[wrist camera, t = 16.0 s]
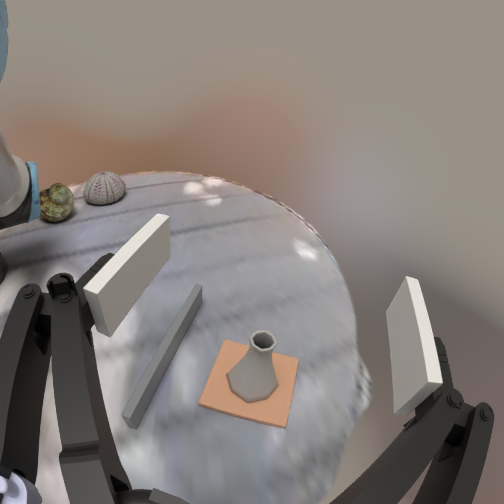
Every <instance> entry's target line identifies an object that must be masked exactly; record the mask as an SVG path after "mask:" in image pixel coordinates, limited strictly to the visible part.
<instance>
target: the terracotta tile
mask: <svg viewBox="0 0 504 504" xmlns="http://www.w3.org/2000/svg"><path fill="white" fill-rule="evenodd" d="M249 348H250V346H247V345H243V344H239V343H236V342H232V341H229V340H225V339H224V341H223V344H222V346H221V349H220V351H219V354H218V356H217V359H216V361H215V364H214V366H213V368H212V371H211V373H210V376H209V378H208V381H207V383H206V386H205V388H204V391H203V393H202V395H201V398H200V400H199V403H198V404H199V406H202V407H206V408H209V409H212V410H215V411H218V412H222V413H225V414H228V415H232V416H236V417H239V418H243V419H247V420H250V421H254V422H258V423H263V424H267V425H271V426H276V427H280V428H285V427H286V423H287V418H288V413H289V408H290V403H291V398H292V393H293V388H294V382H295V377H296V371H297V366H298V360H299V359H298V358H294V357H290V356H285V355H281V354H277V353H273V352H272V363H273V367H274V371H275V374H276V377H277V380H278V384H279V386H278V387H277V388H276V389H275V390H274V392H273V393H272V394H271V395H270V397H269V398H268V399H264V400H259V401H255V402H250V403H247V402H246V401H244V400H243V399H241V398H240V397H238V396H237V395H236V394H234V393H233V392H231V390H230V386H229V383H228V380H227V377H226V374H227V373H228V372H229V371H230V370H231V369H232V368H233V367H234V366H235V365H236V364H237V363H238V362H239V361H240V360H241V359H242V358H243V357H244V356H245V355H246V353H247V351H248V349H249Z"/></svg>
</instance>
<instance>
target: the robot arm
mask: <svg viewBox="0 0 504 504" xmlns="http://www.w3.org/2000/svg"><path fill="white" fill-rule="evenodd" d="M7 27H8V15H7V7H6V1H5V0H0V82H1V80H2V78H3V74H4V71H5V67H6V61H7V52H8V34H7ZM40 214H41V207H40V199H39V187H38V176H37V167H36V163H35V162H26V163H24V162H23V161H22V160H21V159H20V158H18V157H16V156H14V155H12V153H11V151H10V149H9V146H8V144H7V142H6V139H5V137H4V134H3V132H2V130H1V127H0V230H2V229H5V228H9V227H12V226H16V225H19V224H22V223H29V222H30V221H32V220H35V219H37V218H38V217H39V216H40ZM169 258H170V216H167V215H163V214H156V215H155V216H154V217H153V218H152V219H151V220H150V221H149V222H148V223H147V224H146V225H145V226H144V227H143V228H142V229H141V230H140V231H138V232H137V233H136V234H135V235H134V236H133V237H132V238H131V239H130V240H129V241H128V242H127V243H126V244H125V245H124V246H123V247H122V248H121V249H120V250H119V251H118V252H117V253H116V254H112V253H108V254H106V255H104V256H102V257H101V258H100V259H99V260H98V261H97V262H96V263H95V264H94V265H93V266H92V267H91V268H90V269H89V270H88V271H87V272H86V273H85V274H84V275H83V276H82V277H81V278H80V279H79V280H78V281H77V282H76V283H74V279H73V277H72V276H71V275H70V274H68V273H59V274H56V275H54V276H53V277H51V278H50V279H49V280H48V282H47V285H46V286H47V289H48V291H49V293H42V292H41V289H40V287H39V286H38V285H37V284H33V283H32V284H27V285H25V286H24V287H22V288H21V289H20V291H19V292H18V294H17V296H16V299H15V301H14V304H13V306H12V309H11V311H10V314H9V316H8V319H7V321H6V324H5V327H4V330H3V333H2V335H1V338H0V504H41V503H42V497H41V496H40V494H39V492H38V490H37V488H36V487H35V482H36V476H37V469H38V452H39V436H40V424H41V415H42V406H43V399H44V392H45V386H46V380H47V374H48V368H49V363H50V358H51V355H52V374H53V386H54V396H55V405H56V413H57V420H58V426H59V432H60V438H61V443H62V451H61V453H60V454H59V462H60V467H61V471H62V475H63V479H64V483H65V487H66V490H67V494H68V497H69V501H70V504H189V503H188V502H186V501H185V500H183V499H181V498H179V497H176V496H173V495H170V494H168V493H165V492H163V491H160V490H158V489H155V488H153V490H146V489H135V490H132V487H131V484H130V482H129V479H128V477H127V474H126V472H125V470H124V469H123V467H122V465H121V462H120V460H119V457H118V453H117V450H116V447H115V443H114V440H113V436H112V433H111V429H110V425H109V422H108V418H107V413H106V409H105V405H104V401H103V396H102V391H101V386H100V381H99V376H98V370H97V364H96V358H95V352H94V345H93V337H92V332H91V327H92V326H93V325H94V324H95V326H96V329H97V331H98V332H100V333H102V334H104V335H106V336H109V337H111V336H112V334H113V333H114V332H115V330H116V329H117V327H118V326H119V325H120V323H121V322H122V320H123V319H124V318H125V316H126V315H127V313H128V312H129V311H130V309H131V308H132V307H133V305H134V304H135V303H136V301H137V300H138V298H139V297H140V296H141V294H142V293H143V292H144V290H145V289H146V288H147V286H148V285H149V284H150V282H151V281H152V280H153V279H154V277H155V276H156V275H157V273H158V272H159V271H160V269H161V268H162V267H163V266H164V264H165V263H166V262H167V260H168V259H169ZM6 270H7V266H6V263H5V260H4V257H3V255H2V254H1V253H0V283H1V282H2V280H3V278H4V277H5V274H6ZM386 317H387V325H388V333H389V342H390V353H391V364H392V378H393V394H394V395H393V396H394V414H404V415H408V414H409V413H411V412H412V411H413V410H414V409H415V413H416V416H415V417H414V418H412V419H411V420H410V421H408V422H407V423H406V424H405V425H404V427H405V428H404V429H403V430H402V432H401V433H400V434H399V435H398V436H397V438H396V439H395V440H394V441H393V442H392V443H391V444H390V446H389V447H388V448H387V449H386V450H385V451H384V452H383V453H382V454H381V456H380V457H379V458H378V459H377V460H376V461H375V462H374V463H373V464H372V465H371V466H370V467H369V468H368V469H367V470H366V471H365V472H364V473H363V474H362V475H361V476H360V477H359V478H358V479H357V480H356V481H355V482H354V483H352V484H351V485H350V487H348V488H347V489H346V490H345V491H344V492H343V493H341V494H340V495H339V496H338V497H337V498H336V499H334V500H333V501H332V502H331V503H330V504H397V503H398V502H399V501H400V500H401V499H402V497H403V496H404V495H405V494H406V493H407V492H408V490H409V489H410V488H411V487H412V485H413V484H414V483H415V482H416V480H417V479H418V478H419V476H420V475H421V474H422V472H423V471H424V470H425V468H426V467H427V466H428V464H429V463H430V461H431V460H432V458H433V460H432V462H431V465H430V467H429V469H428V472H427V474H426V476H425V479H424V481H423V483H422V485H421V487H420V489H419V491H418V493H417V495H416V497H415V499H414V501H413V503H412V504H472V501H473V498H474V496H475V493H476V489H477V487H478V483H479V480H480V477H481V474H482V470H483V467H484V463H485V459H486V455H487V451H488V447H489V443H490V438H491V433H492V428H493V422H494V413H493V410H492V408H491V407H490V406H489V405H488V404H487V403H484V402H482V403H480V404H478V405H477V406H476V407H473V406H471V405H469V404H466V403H464V400H463V397H462V395H461V394H460V393H459V391H457V390H456V389H454V388H453V383H452V377H451V372H450V368H449V364H448V359H447V357H446V356H447V354H446V350H445V346H444V345H443V343H442V341H441V339H440V338H438V337H433V333H432V329H431V325H430V321H429V317H428V314H427V310H426V306H425V302H424V299H423V295H422V292H421V289H420V285H419V282H418V280H417V279H414V278H410V277H407V276H406V277H405V279H404V281H403V283H402V285H401V287H400V288H399V290H398V292H397V294H396V296H395V297H394V299H393V301H392V303H391V304H390V306H389V308H388V310H387V311H386Z"/></svg>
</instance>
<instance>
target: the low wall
mask: <svg viewBox="0 0 504 504" xmlns="http://www.w3.org/2000/svg"><path fill="white" fill-rule="evenodd" d="M201 303H202V286H200V285H197V284H196V285H195V286H194V288H193V290H192V291H191V293H190V295H189V296H188V298H187V300H186V301H185V303H184V305H183V307H182V308H181V310H180V312H179V313H178V315H177V317H176V318H175V320H174V322H173V324H172V325H171V327H170V329H169V330H168V332H167V334H166V336H165V337H164V339H163V341H162V342H161V344H160V346H159V348H158V349H157V351H156V353H155V355H154V356H153V358H152V360H151V362H150V363H149V365H148V367H147V369H146V371H145V372H144V374H143V376H142V378H141V379H140V381H139V383H138V385H137V387H136V388H135V390H134V392H133V394H132V396H131V397H130V399H129V401H128V403H127V405H126V407H125V408H124V410H123V412H122V414H121V415H122V417H123V419H124V420H125V422H126V423H127V425H128V426H129V427H132V428H134V429H136V428H137V426H138V425H139V423H140V421H141V419H142V417H143V415H144V413H145V411H146V409H147V407H148V405H149V403H150V401H151V399H152V397H153V395H154V393H155V391H156V389H157V387H158V385H159V383H160V381H161V379H162V377H163V375H164V374H165V372H166V370H167V368H168V366H169V364H170V362H171V360H172V358H173V356H174V354H175V352H176V350H177V349H178V347H179V345H180V343H181V341H182V339H183V337H184V335H185V333H186V331H187V330H188V328H189V326H190V324H191V322H192V320H193V318H194V316H195V315H196V313H197V311H198V309H199V307H200V305H201Z"/></svg>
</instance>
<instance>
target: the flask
mask: <svg viewBox="0 0 504 504" xmlns="http://www.w3.org/2000/svg"><path fill="white" fill-rule="evenodd" d="M249 340H250V343H251V344H250V348H249V349H248V351H247V353H246V355H245V356H244V357H243V358H242V359H241V360H240V361H239V362H238V363H237V364H236V365H235V366H234V367H233V368H232V369H231V370H230V371H229V372H228V373H227V374H226V377H227V380H228V383H229V386H230V390H231V392H233V393H234V394H236V395H237V396H238V397H240V398H241V399H243V400H244V401H246V402H247V403H250V402H255V401H259V400H264V399H268V398H269V397H270V395H271V394H272V393H273V392H274V390H275V389H276V388H277V387H278V386H279V384H278V380H277V377H276V374H275V371H274V367H273V363H272V351H273V348H274V347H275V346H276V345H277V340H276V338H275V336H274V334H272V333H270V332H269V331H267V330H266V329H265V330H258V331H255V332H254V333H253V334H252V335H251V336H250V337H249Z"/></svg>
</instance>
